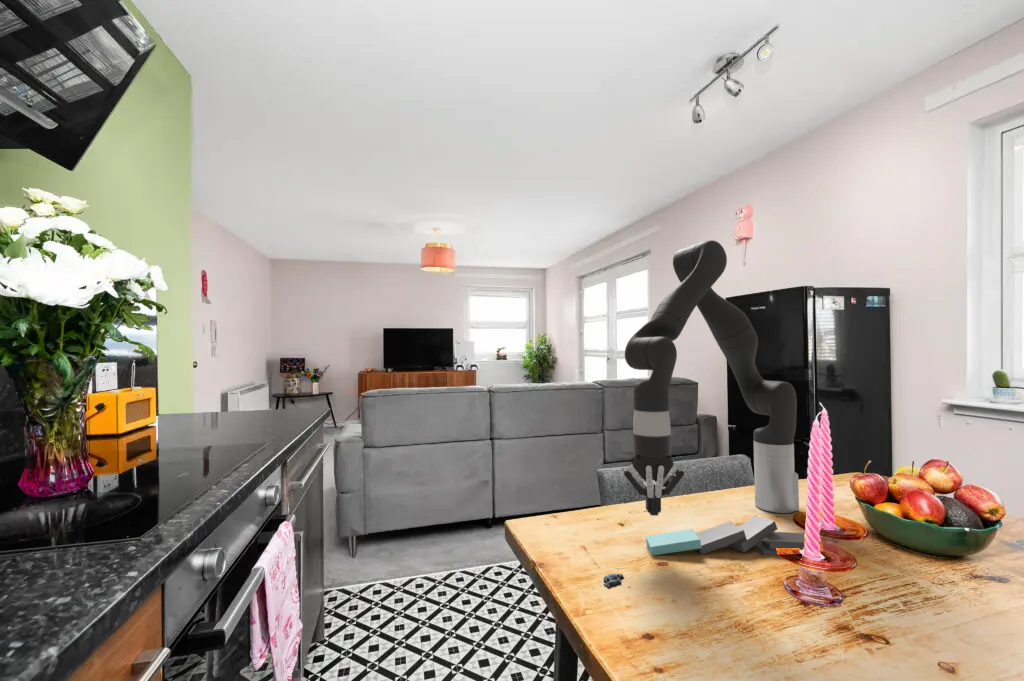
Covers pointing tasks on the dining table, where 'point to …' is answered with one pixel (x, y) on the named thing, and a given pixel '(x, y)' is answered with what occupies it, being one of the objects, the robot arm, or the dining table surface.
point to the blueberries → (613, 580)
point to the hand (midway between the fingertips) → (653, 514)
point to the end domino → (673, 542)
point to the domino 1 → (719, 537)
